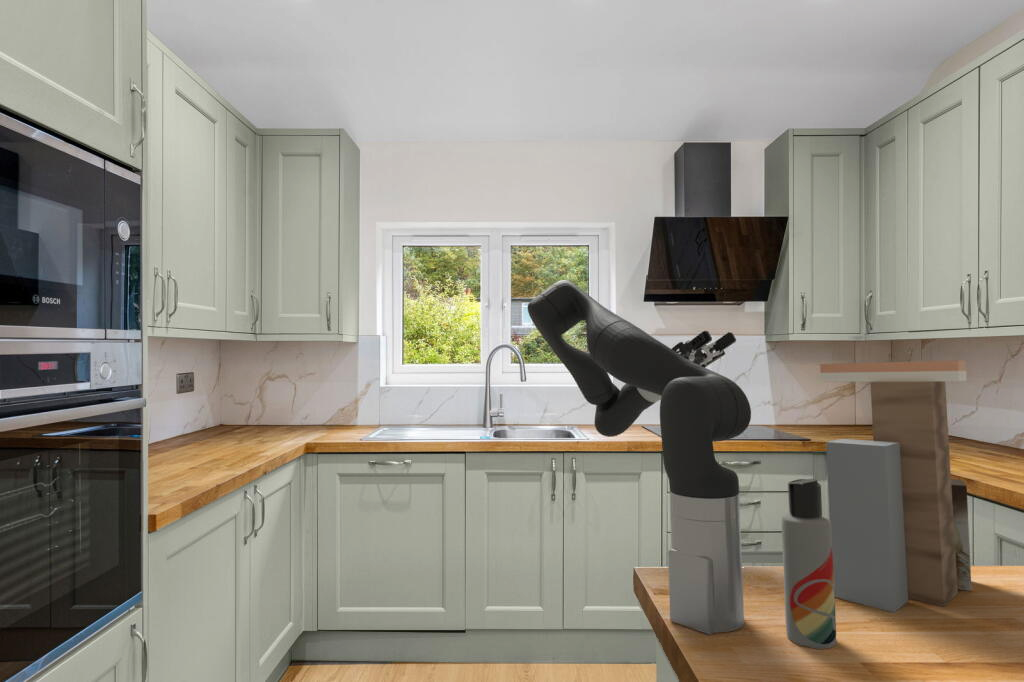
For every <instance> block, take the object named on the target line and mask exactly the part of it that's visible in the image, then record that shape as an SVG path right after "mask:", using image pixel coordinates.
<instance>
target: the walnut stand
mask: <svg viewBox="0 0 1024 682" xmlns="http://www.w3.org/2000/svg"><path fill="white" fill-rule="evenodd" d="M869 383H870V398H871V399H870V400H871V401H870V403H871V420H872V421H871V423H872V437H873V438H872V439H873V440H872V441H882V442H897V443H900V459H901V477H902V496H903V514H904V533H905V551H906V569H907V588H908V599H910V600H915V601H920V602H924V603H928V604H932V605H936V606H941V607H946V605H948V604H949V603H950V602H951V601H952V600H953V599H954V598H956V596H958V595H959V592H958V591H959V589H957V572H956V555H955V538H954V522H953V505H952V488H951V479H952V475H951V474H952V473H951V472H952V471H951V459H950V458H951V456H950V441H949V440H950V439H949V438H950V437H949V422H948V420H949V419H948V409H947V408H948V406H947V404H948V403H947V391H946V390H947V389H946V381H924V382H869Z"/></svg>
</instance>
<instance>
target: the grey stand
mask: <svg viewBox="0 0 1024 682" xmlns="http://www.w3.org/2000/svg"><path fill="white" fill-rule="evenodd" d="M825 447H826V448H825V451H826V472H827V488H828V489H827V490H828V491H827V492H828V496H827V497H828V510H829V511H828V513H829V518H828V519H829V520H830V521H831V532H832V552H833V573H834V595H835V598H836V599H837V598H838V599H840V600H844V601H848V602H853V603H856V604H860V605H864V606H868V607H871V608H876V609H880V610H883V611H888V612H891V613H896V611H898V610H899V609H900V608H902V607H903V606H904V605H906V604H907V603H908V602H909V598H908V588H907V569H906V551H905V533H904V514H903V496H902V477H901V459H900V443H897V442H882V441H873V440H866V439H865V440H864V439H851V438H850V439H849V438H840V439H835V440H829V441H825Z"/></svg>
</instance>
